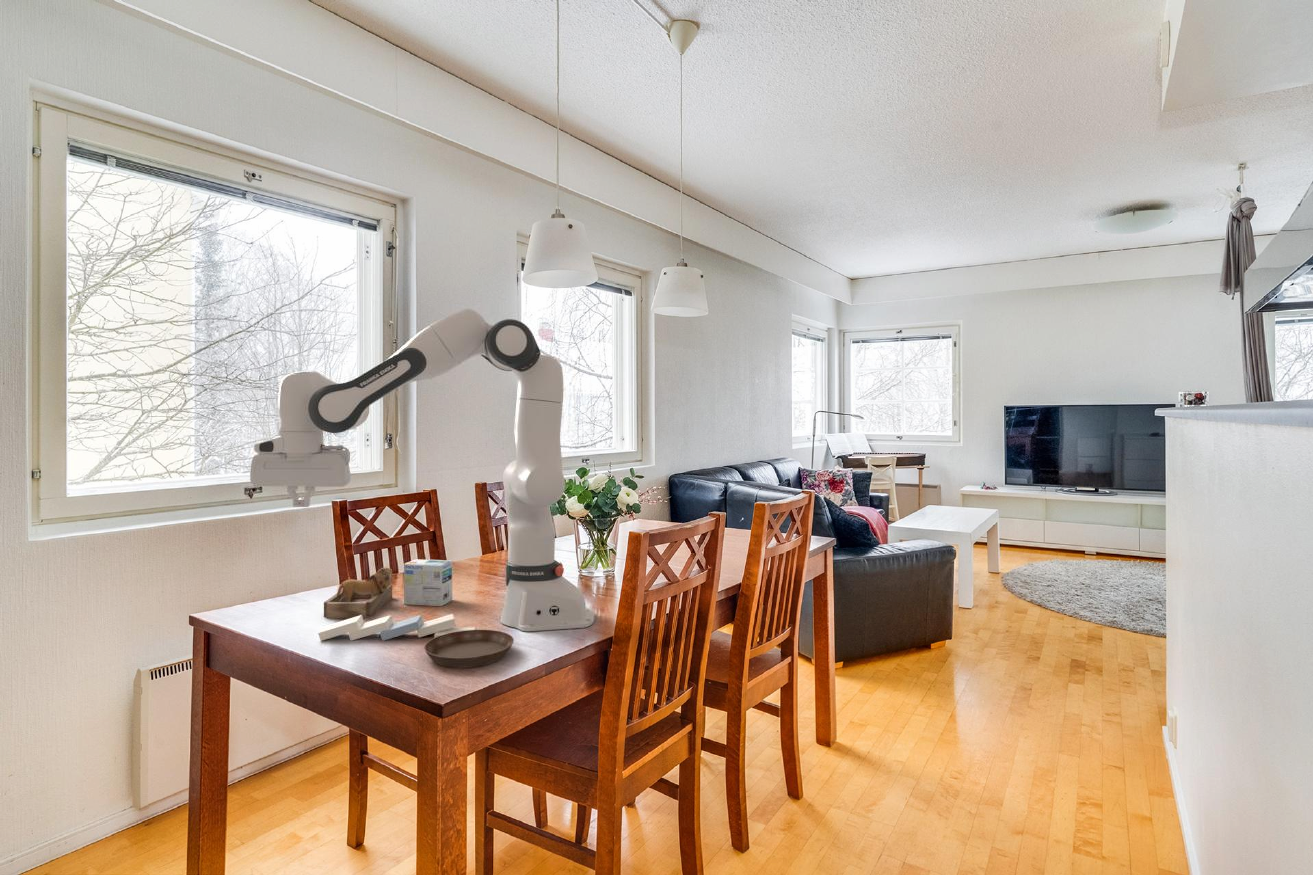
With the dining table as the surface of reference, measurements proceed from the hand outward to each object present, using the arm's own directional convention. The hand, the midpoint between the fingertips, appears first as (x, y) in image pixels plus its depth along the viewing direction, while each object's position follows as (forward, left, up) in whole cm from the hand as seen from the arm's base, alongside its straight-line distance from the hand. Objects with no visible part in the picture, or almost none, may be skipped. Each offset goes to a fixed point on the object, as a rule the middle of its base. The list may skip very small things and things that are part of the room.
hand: (301, 506), depth 151 cm
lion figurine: (-7, -20, -28) cm, 35 cm away
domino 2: (-12, +3, -27) cm, 30 cm away
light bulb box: (-22, -24, -28) cm, 43 cm away
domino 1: (-6, +4, -27) cm, 28 cm away
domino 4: (-26, +3, -27) cm, 38 cm away
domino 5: (-30, +3, -28) cm, 41 cm away
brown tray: (-6, -20, -28) cm, 35 cm away
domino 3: (-19, +4, -27) cm, 34 cm away
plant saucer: (-40, +16, -29) cm, 52 cm away
